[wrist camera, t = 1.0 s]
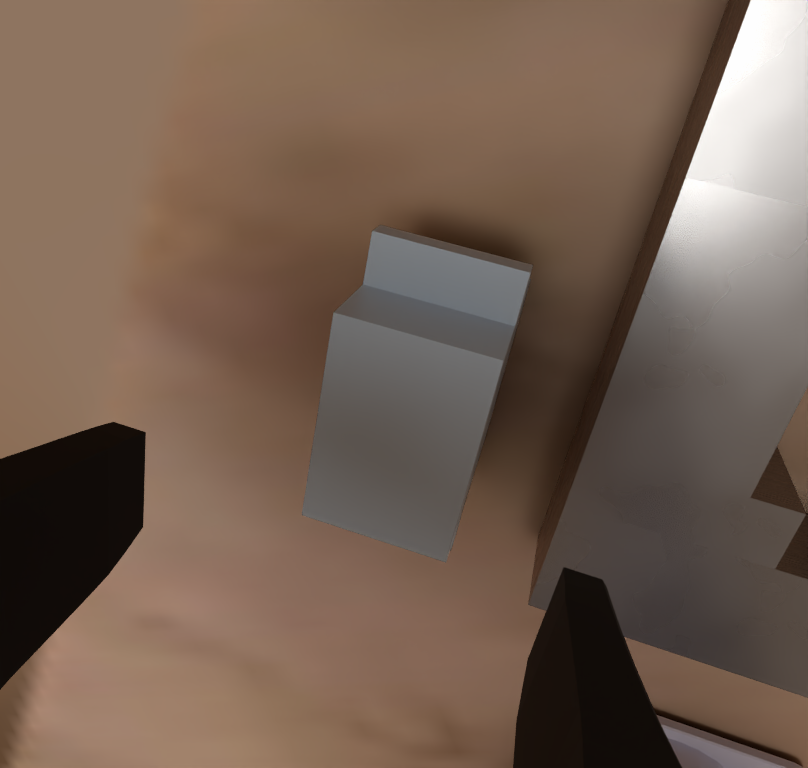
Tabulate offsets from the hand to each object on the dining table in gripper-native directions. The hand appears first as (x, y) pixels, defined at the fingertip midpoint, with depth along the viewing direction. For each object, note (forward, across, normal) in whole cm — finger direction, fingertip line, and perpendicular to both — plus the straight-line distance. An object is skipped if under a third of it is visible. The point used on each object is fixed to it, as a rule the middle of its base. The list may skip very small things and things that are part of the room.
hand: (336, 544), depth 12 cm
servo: (+9, 0, 0) cm, 9 cm away
